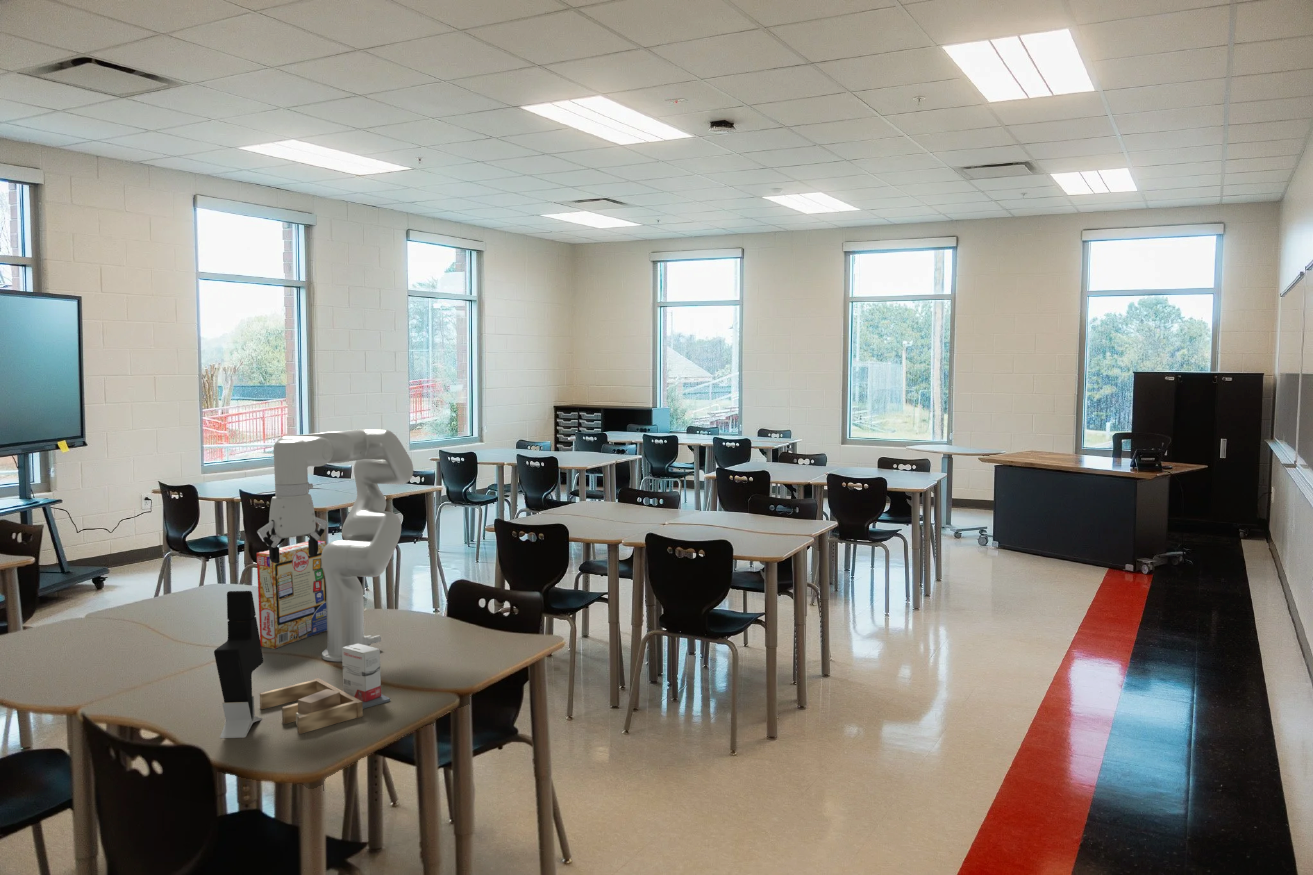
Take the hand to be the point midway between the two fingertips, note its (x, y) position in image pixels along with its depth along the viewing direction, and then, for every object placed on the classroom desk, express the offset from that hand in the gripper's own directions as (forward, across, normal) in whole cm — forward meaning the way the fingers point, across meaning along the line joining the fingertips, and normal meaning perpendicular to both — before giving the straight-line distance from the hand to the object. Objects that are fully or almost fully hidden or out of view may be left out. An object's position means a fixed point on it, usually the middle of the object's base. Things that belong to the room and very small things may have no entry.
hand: (294, 559), depth 225 cm
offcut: (+28, +9, +27) cm, 40 cm away
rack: (+31, +8, +20) cm, 38 cm away
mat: (+31, -5, +22) cm, 38 cm away
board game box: (+32, -17, -36) cm, 52 cm away
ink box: (+31, -5, +22) cm, 38 cm away
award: (+31, +22, +18) cm, 42 cm away
